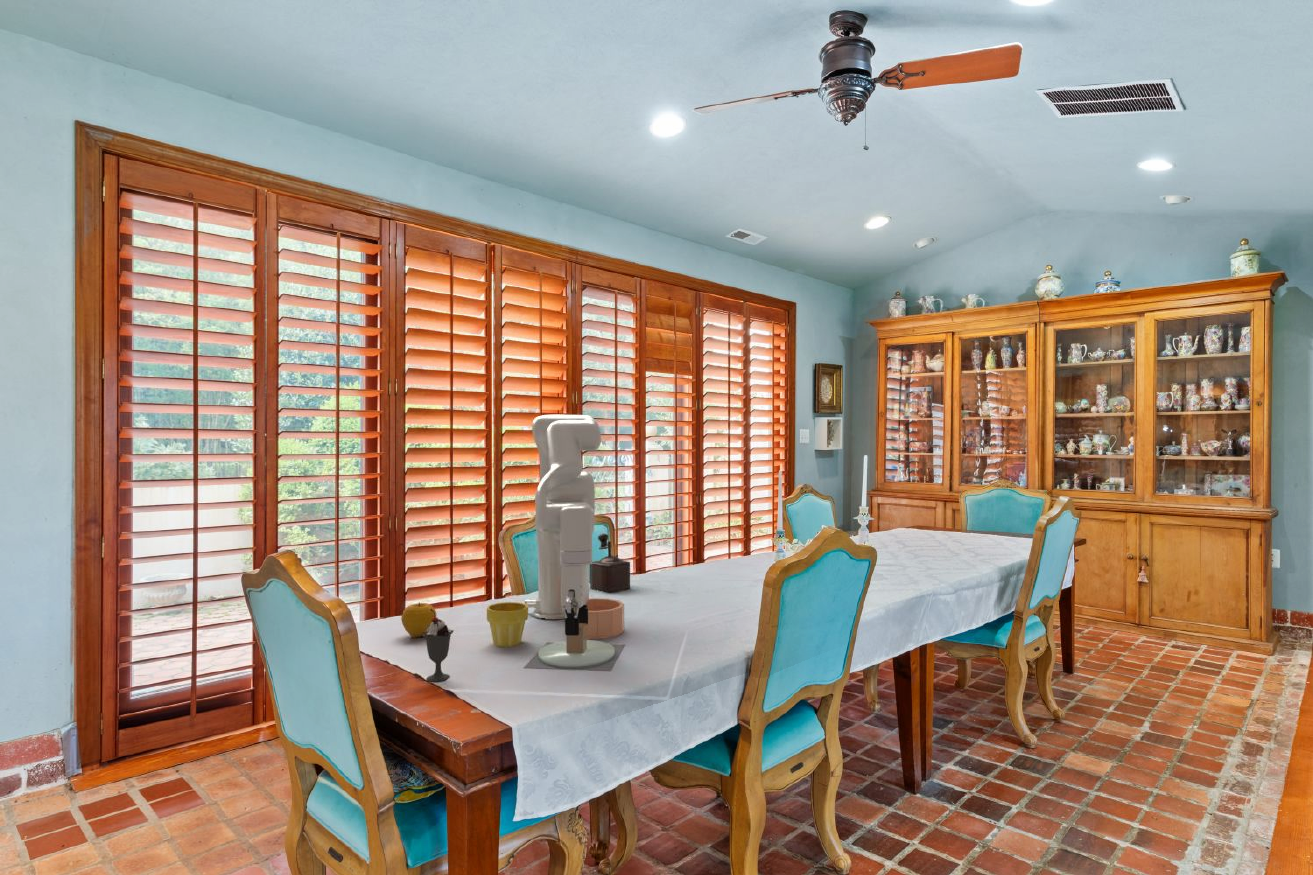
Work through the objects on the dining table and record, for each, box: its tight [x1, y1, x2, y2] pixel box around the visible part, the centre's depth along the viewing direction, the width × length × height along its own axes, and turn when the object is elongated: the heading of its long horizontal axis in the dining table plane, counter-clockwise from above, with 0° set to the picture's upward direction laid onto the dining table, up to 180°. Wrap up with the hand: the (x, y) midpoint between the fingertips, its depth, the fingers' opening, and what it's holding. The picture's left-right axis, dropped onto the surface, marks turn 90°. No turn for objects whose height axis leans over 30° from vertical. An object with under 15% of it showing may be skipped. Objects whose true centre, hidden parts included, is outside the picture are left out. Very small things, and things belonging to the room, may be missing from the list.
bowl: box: [574, 597, 625, 640], centre depth 192 cm, size 15×15×8 cm
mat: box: [523, 641, 626, 672], centre depth 170 cm, size 20×20×1 cm
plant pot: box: [486, 601, 529, 648], centre depth 181 cm, size 10×10×10 cm
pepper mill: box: [589, 533, 631, 594], centre depth 249 cm, size 16×11×18 cm
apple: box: [400, 602, 437, 638], centre depth 189 cm, size 9×9×9 cm
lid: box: [537, 623, 615, 668], centre depth 170 cm, size 18×18×7 cm
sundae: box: [422, 609, 455, 683], centre depth 156 cm, size 7×7×15 cm
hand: (576, 629), depth 170 cm, fingers open, 9 cm apart
